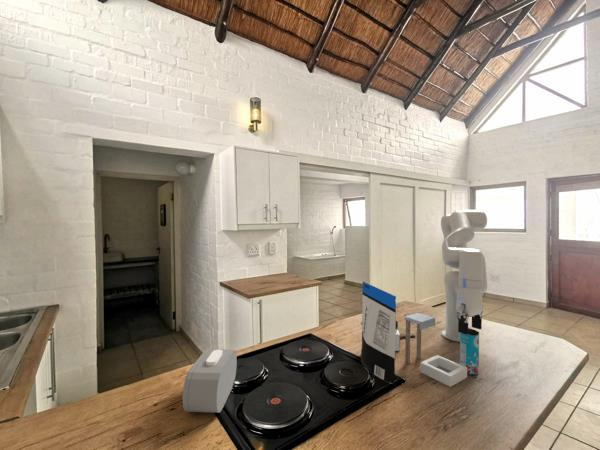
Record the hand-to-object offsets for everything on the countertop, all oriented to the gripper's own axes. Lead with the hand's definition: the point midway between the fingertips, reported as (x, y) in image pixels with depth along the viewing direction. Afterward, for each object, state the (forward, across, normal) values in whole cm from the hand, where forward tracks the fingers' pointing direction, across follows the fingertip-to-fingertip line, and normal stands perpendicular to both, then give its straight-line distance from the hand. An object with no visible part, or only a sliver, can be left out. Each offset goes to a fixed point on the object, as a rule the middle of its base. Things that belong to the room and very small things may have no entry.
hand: (470, 330), depth 101 cm
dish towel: (+15, -8, -44) cm, 47 cm away
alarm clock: (+17, +83, -35) cm, 92 cm away
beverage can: (+16, -1, -1) cm, 16 cm away
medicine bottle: (+15, +7, -30) cm, 34 cm away
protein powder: (+16, +26, -21) cm, 37 cm away
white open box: (+16, +9, -8) cm, 20 cm away
